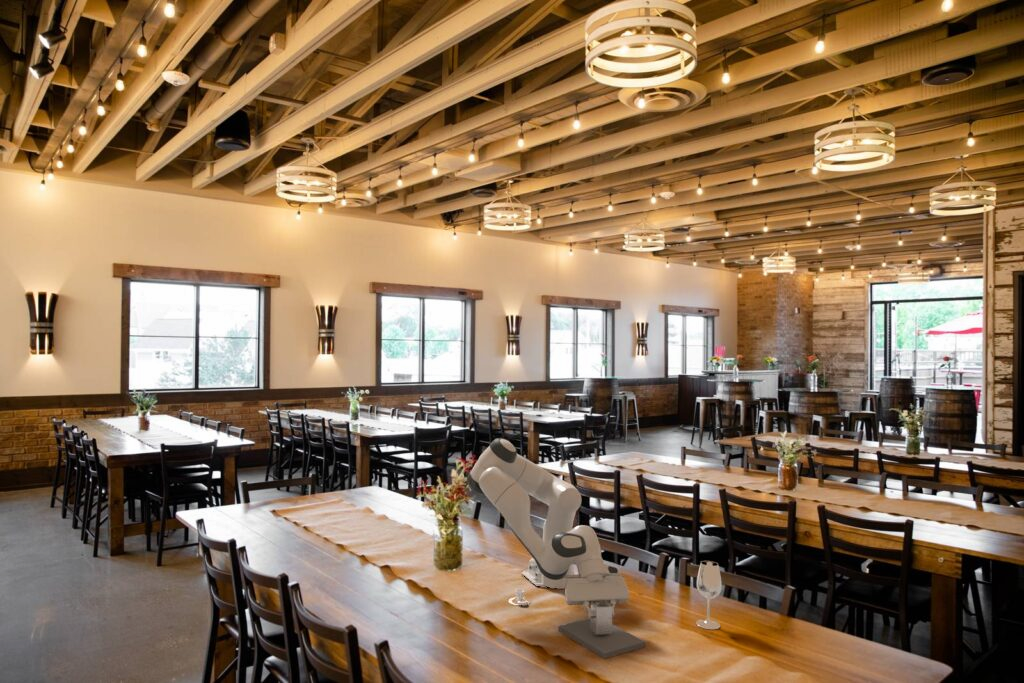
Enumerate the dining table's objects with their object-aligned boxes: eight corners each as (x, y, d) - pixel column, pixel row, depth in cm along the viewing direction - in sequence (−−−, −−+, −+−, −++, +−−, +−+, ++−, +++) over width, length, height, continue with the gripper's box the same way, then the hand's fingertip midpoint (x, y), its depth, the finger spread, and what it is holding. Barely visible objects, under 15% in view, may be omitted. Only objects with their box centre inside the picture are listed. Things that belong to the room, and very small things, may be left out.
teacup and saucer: (528, 608, 229) (528, 596, 229) (505, 606, 230) (506, 594, 230) (533, 599, 237) (533, 588, 237) (511, 597, 239) (511, 586, 239)
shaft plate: (558, 630, 210) (559, 599, 210) (597, 621, 219) (598, 591, 219) (604, 658, 192) (605, 624, 192) (645, 646, 200) (646, 614, 201)
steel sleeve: (590, 627, 207) (591, 601, 207) (605, 627, 208) (606, 601, 209) (595, 634, 202) (596, 607, 202) (611, 633, 203) (612, 607, 204)
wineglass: (703, 630, 214) (705, 567, 214) (691, 621, 221) (692, 560, 222) (725, 628, 216) (726, 566, 216) (711, 619, 223) (713, 559, 224)
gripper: (563, 570, 210) (571, 614, 201) (624, 568, 215) (635, 610, 205) (559, 580, 215) (567, 623, 205) (619, 577, 219) (629, 619, 209)
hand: (601, 616), depth 205 cm, fingers closed on steel sleeve, 5 cm apart
